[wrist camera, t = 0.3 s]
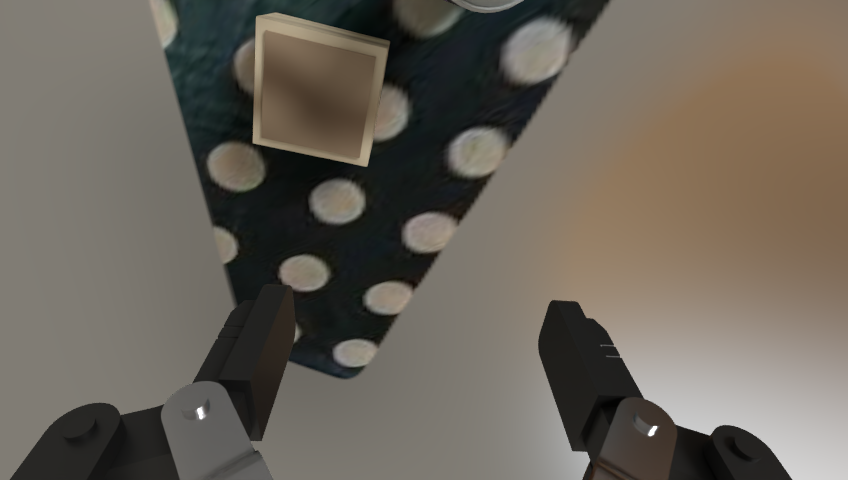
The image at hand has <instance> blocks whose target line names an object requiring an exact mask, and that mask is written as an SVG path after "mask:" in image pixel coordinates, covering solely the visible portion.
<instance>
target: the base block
mask: <svg viewBox="0 0 848 480" xmlns="http://www.w3.org/2000/svg"><path fill="white" fill-rule="evenodd" d="M389 45H390V41H388V40H384V39H380V38H376V37H372V36H368V35H364V34H360V33H356V32H352V31H348V30H344V29H340V28H336V27H332V26H328V25H324V24H320V23H316V22H312V21H308V20H304V19H300V18H296V17H292V16H288V15H284V14H280V13H271V14H266V15H261V16H256V41H255V78H254V116H253V143H254V144H259V145H264V146H269V147H273V148H278V149H283V150H288V151H293V152H298V153H303V154H307V155H312V156H317V157H322V158H327V159H332V160H337V161H341V162H346V163H351V164H356V165H361V166H366V167H367V165H368V161H369V157H370V152H371V148H372V143H373V137H374V131H375V126H376V120H377V114H378V109H379V103H380V97H381V91H382V86H383V80H384V74H385V68H386V63H387V57H388V51H389Z"/></svg>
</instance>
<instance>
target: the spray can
mask: <svg viewBox="0 0 848 480" xmlns="http://www.w3.org/2000/svg"><path fill="white" fill-rule="evenodd" d="M445 1H447V2H450V3H452V4H455V5H458V6H460V7H463V8H466V9H468V10H471V11H475V12H482V13H490V12H498V11H502V10H505V9H508V8H511V7H512V6H514V5H516V4H518V3H520V2H521V1H523V0H445Z"/></svg>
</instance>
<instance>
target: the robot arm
mask: <svg viewBox="0 0 848 480" xmlns="http://www.w3.org/2000/svg"><path fill="white" fill-rule="evenodd" d="M295 328H296V324H295V313H294V302H293V292H292V287H291V286H290V285H272V284H265V285H264V286H263V288H262V290H261V292H260V294H259V296H258V298H257V300H256V301H250V300H245V301H244V302H242V303H241V304H240V305H239V306H238V307H236V308H235V309H234V310H233V311H232V312H231V313H230V315H229V317H228V319H227V321H226V323H225V325H224V328H222V330H221V332H220V333H219V335H218V339H216V341H215V343H214V345H213V347H212V348H211V350H210V352H209V354H208V356H207V358H206V359H205V361H204V363H203V365H202V367H201V368H200V371H199V372H198V374H197V376H196V378H195V379H194V381H193V383H192V384H189V385H187V386H185V387H182V388H181V389H179V390H178V391H176V392H175V393H174V394H172V396H171V397H170V398H169V399H168V400H167V401H166V403H165V404H163V405H161V406H158V407H155V408H151V409H146V410H142V411H137V412H133V413H128V414H124V415H120V413H119V411H118V410H117V408H115V407H114V406H113V405H110V404H106V403H93V404H88V405H84V406H81V407H78V408H76V409H73V410H72V411H70V412H68V413H66V414H64V415H63V416H61V417H60V418H59V419H57V420H56V421H55V422H54V423H53V424H52V425H51V426H50V427H49V428H48V429H47V431H45V433H44V434H43V435H42V437H41V438H40V440H39V441H38V442H37V444H36V445H35V446H34V448H33V449H32V450H31V452H30V453H29V454H28V456H27V457H26V459H25V460H24V461H23V463H22V464H21V465H20V467H19V468H18V469H17V471H16V472H15V473H14V475H13V476H12V478H11V479H10V480H273V478H272V476H271V474H270V471H269V469H268V467H267V465H266V463H265V461H264V459H263V457H262V455H261V454H260V452H259V451H255V449H254V448H253V446H252V444H251V441H262V438H263V435H264V432H265V429H266V426H267V423H268V419H269V416H270V413H271V410H272V407H273V404H274V401H275V398H276V395H277V392H278V389H279V386H280V382H281V380H282V377H283V373H284V370H285V367H286V364H287V361H288V358H289V355H290V352H291V349H292V346H293V342H294V338H295ZM538 342H539V343H538V348H539V355H540V358H541V361H542V364H543V367H544V369H545V372H546V375H547V378H548V381H549V384H550V387H551V390H552V393H553V396H554V399H555V402H556V404H557V407H558V410H559V413H560V416H561V419H562V422H563V425H564V428H565V431H566V434H567V437H568V440H569V443H570V445H571V448H572V451H583V452H584V451H585V452H588V455H589V458H590V462H589V464H588V467H587V469H586V471H585V474H584V477H583V479H582V480H792V479H791V477H790V476H789V474H788V473H787V472H786V470H785V469H784V467H783V466H782V464H781V463H780V462H779V460H778V459H777V457H776V456H775V455H774V453H773V452H772V451H771V449H770V448H769V447H768V446H767V445H766V444H765V443H764V442H762V441H761V440H760V439H759V438H757V437H756V436H754V435H753V434H751V433H749V432H747V431H745V430H743V429H741V428H738V427H735V426H730V425H723V426H719V427H717V428H716V429H715V430H714V431H713V433H712V434H711V435H710V436H709V435H706V434H703V433H699V432H696V431H693V430H690V429H687V428H683V427H680V426H678V425H675V424H674V422H673V420H672V419H671V417H670V416H669V415H668V414H667V413H666V412H665V411H664V410H663V409H662V408H661V407H659V406H658V405H656V404H654V403H653V402H651V401H648V400H645V399H644V398H643V396H642V394H641V392H640V390H639V389H638V387H637V385H636V383H635V382H634V380H633V378H632V376H631V374H630V372H629V371H628V369H627V367H626V366H625V363H624V362H623V360H622V358H620V354H619V353H618V351H617V349H616V347H614V344H613V342H612V340H611V338H610V337H609V335H608V333H607V331H606V330H605V329H604V328H603V327H602V326H601V325H600V324H598V323H597V322H596V321H595V320H594V319H590V318H586V317H585V315H584V313H583V311H582V309H581V307H580V305H579V303H578V302H575V301H558V300H552V301H551V302H550V304H549V306H548V310H547V313H546V316H545V319H544V322H543V326H542V329H541V332H540V335H539V341H538Z"/></svg>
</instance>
